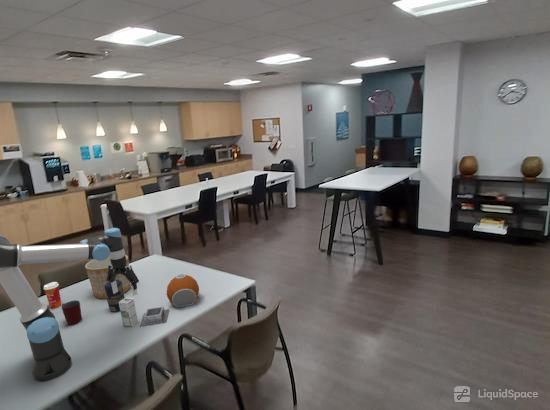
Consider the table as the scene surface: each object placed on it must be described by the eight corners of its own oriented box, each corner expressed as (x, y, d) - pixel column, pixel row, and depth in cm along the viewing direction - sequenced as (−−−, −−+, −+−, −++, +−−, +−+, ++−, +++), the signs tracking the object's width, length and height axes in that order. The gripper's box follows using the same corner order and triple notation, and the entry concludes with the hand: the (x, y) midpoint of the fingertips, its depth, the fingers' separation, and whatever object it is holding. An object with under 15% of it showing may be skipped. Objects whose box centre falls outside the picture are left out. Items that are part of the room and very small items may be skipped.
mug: (58, 323, 198) (54, 306, 196) (72, 315, 206) (68, 298, 204) (72, 327, 194) (68, 309, 191) (86, 318, 201) (82, 301, 199)
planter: (103, 304, 217) (97, 272, 212) (84, 295, 233) (77, 264, 228) (141, 287, 237) (135, 257, 232) (121, 279, 252) (115, 251, 248)
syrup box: (138, 321, 194) (134, 297, 191) (131, 327, 188) (126, 303, 185) (130, 320, 196) (125, 296, 192) (122, 326, 190) (117, 302, 187)
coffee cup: (45, 308, 218) (40, 286, 215) (58, 302, 225) (53, 280, 222) (53, 310, 214) (47, 288, 211) (66, 304, 221) (61, 282, 218)
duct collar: (166, 322, 190) (164, 316, 189) (139, 327, 188) (138, 320, 187) (169, 310, 203) (168, 303, 203) (144, 313, 201) (143, 307, 201)
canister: (120, 312, 205) (114, 284, 201) (105, 312, 207) (100, 284, 203) (129, 304, 214) (124, 277, 210) (116, 304, 216) (110, 277, 212)
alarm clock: (198, 292, 223) (195, 267, 219) (202, 304, 206) (198, 277, 202) (168, 299, 217) (163, 273, 213) (168, 312, 201) (164, 285, 197)
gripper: (141, 255, 182) (148, 292, 187) (105, 253, 191) (113, 288, 196) (131, 261, 175) (138, 299, 180) (94, 258, 184) (102, 294, 189)
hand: (125, 293), depth 188 cm, fingers open, 13 cm apart
